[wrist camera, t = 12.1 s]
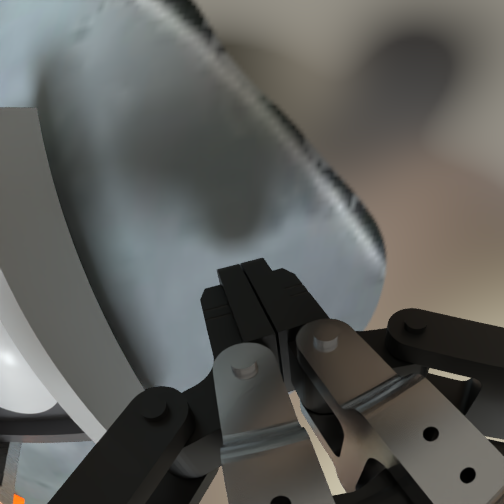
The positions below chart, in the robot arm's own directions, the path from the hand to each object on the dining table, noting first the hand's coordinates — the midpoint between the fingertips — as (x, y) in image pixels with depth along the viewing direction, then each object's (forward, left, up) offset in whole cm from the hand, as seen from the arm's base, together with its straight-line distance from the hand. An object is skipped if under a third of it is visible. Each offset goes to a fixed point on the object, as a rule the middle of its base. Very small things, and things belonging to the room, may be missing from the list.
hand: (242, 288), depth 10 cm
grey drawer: (0, -11, -1) cm, 11 cm away
